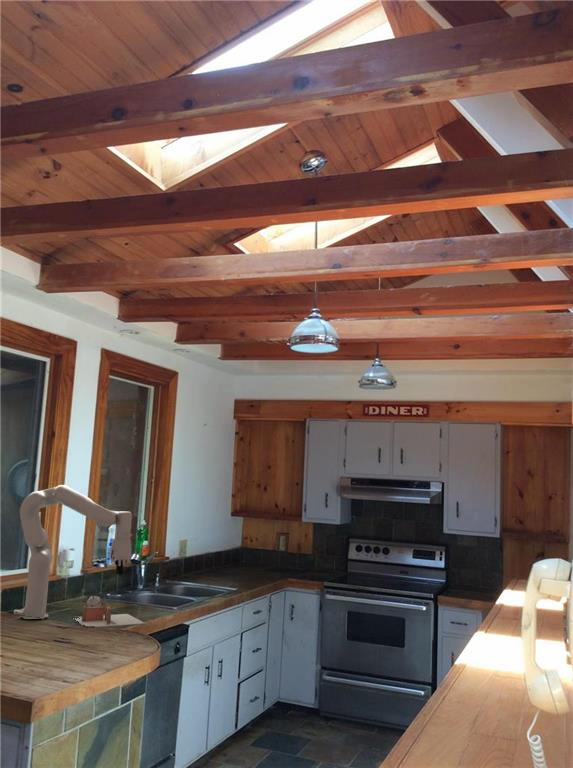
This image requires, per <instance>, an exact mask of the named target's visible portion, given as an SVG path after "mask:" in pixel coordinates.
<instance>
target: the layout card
mask: <svg viewBox="0 0 573 768" xmlns="http://www.w3.org/2000/svg"><path fill="white" fill-rule="evenodd" d="M78 617H79V618H80V619H79V618H77V619H76V618H75V620H76V621H75V620H74V618H73V619H72V620H74V621H75V622H77V621H78V622H79V623H78V622H77V623H78V624H80V625H81V626H83V625H85V626H95V628H106V627H107V628H108V627H118V626H122V627H123V626H133V625H145V624H146V622H144V621H142V620H140V619H138V618H136V617H134V616H132V615H130V614H129V613H121V614H118V613H117V614H111V621H110V624H107V623H106V620H105V614H104V618H103V620H91V621H81V620H82V616H78Z"/></svg>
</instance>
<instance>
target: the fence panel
mask: <svg viewBox="0 0 573 768" xmlns="http://www.w3.org/2000/svg"><path fill="white" fill-rule="evenodd" d="M111 615H112V608H111V605H110V606H107V613H106V623H107V624H110V621H111Z"/></svg>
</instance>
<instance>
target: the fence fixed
mask: <svg viewBox="0 0 573 768" xmlns="http://www.w3.org/2000/svg"><path fill="white" fill-rule="evenodd" d="M107 606H110V607H111V604H110V603H106V604H105V606H100V607H87V605H84V606H83V605H82V609H81V610H82V611H81V612H82V613H81V617H82V620H81V621H91V620H103V618H104V615H105V620H106V613H107Z"/></svg>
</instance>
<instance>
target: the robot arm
mask: <svg viewBox="0 0 573 768" xmlns="http://www.w3.org/2000/svg"><path fill="white" fill-rule="evenodd" d="M57 504H61V505H63V506H65V507H67V508H69V509H71V510H73V511H74V512H76V513H78V514H80V515H82V516H85V517H87V518H88V519H91V520H93V521H94V522H96V523H98V524H100V525H102V526H104V527H110V526H115V529H114V538H112V541H111V546H110V550H109V551H110V552H109V560H110V562H111V563H114V565H115V566H116V569H115V574H116V575H119V576H120V575H124V574H123V572H124V566H125V565H126V564H127V563H129V562H130V561H131V557H132V540H131V537H133V534H132V533H131V530H132V520H133V519H132V518H133V514H132V512H131V511H125V510H123V511H122V510H121V511H120V510H119V511H117V510H111V509H107V508H105V507H104V506H101V505H99V504H97V502H94V501H93V500H92V499H91V498H89V497H88V496H86V495H84V494H82V493H81V492H78V491H77V490H74V489H72V488H71V487H69V486H68V485H66V484H59V485H57V486H55V487H51V488H46V489H42V490H37V491H32V492H31V493H30V494H29V495H27V496H26V497H25V498H24V499H23V501H22V503H21V505H20V508H19V509H20V510H19V516H20V517H19V518H20V522H21V526H22V530H23V531H22V532H23V535H24V541H25V544H26V545H27V546H28V547H29V550H30V553H31V556H30V558H29V561H28V570H27V571H28V573H27V584H26V593H25V594H26V595H25V603H24V604H25V605H24V607H23V608H21V609H14V610H13V615H19V616H21V615H25V616H32V617H40V618H45V617H48V618H49V614H48V613H46V612H47V611H46V610H47V603H48V601H47V600H48V589H49V583H50V582H49V579H50V569H51V568H50V567H51V564H52V562H53V558H54V557H53V551H52V547H51V543H50V540H49V535H48V532H47V531H46V530H45V529H44V528H43V526H42V522H41V517H40V514H39V511H40V509H43V508H46V507H50V506H54V505H57Z"/></svg>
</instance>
